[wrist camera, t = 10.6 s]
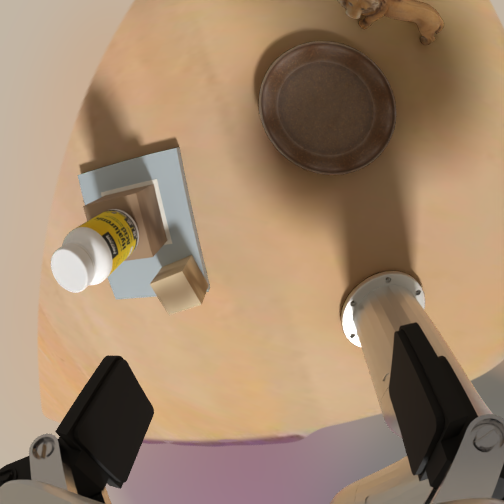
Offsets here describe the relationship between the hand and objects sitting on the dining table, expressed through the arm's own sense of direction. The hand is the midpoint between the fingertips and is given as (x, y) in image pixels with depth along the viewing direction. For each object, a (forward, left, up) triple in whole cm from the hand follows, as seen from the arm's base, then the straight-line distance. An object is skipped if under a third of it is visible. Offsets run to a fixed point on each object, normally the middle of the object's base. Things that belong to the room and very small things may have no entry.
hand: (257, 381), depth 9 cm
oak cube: (-8, +12, -26) cm, 29 cm away
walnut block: (0, +16, -26) cm, 30 cm away
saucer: (+9, -8, -28) cm, 30 cm away
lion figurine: (+20, -17, -27) cm, 38 cm away
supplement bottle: (0, +16, -21) cm, 26 cm away
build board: (-2, +16, -27) cm, 31 cm away
